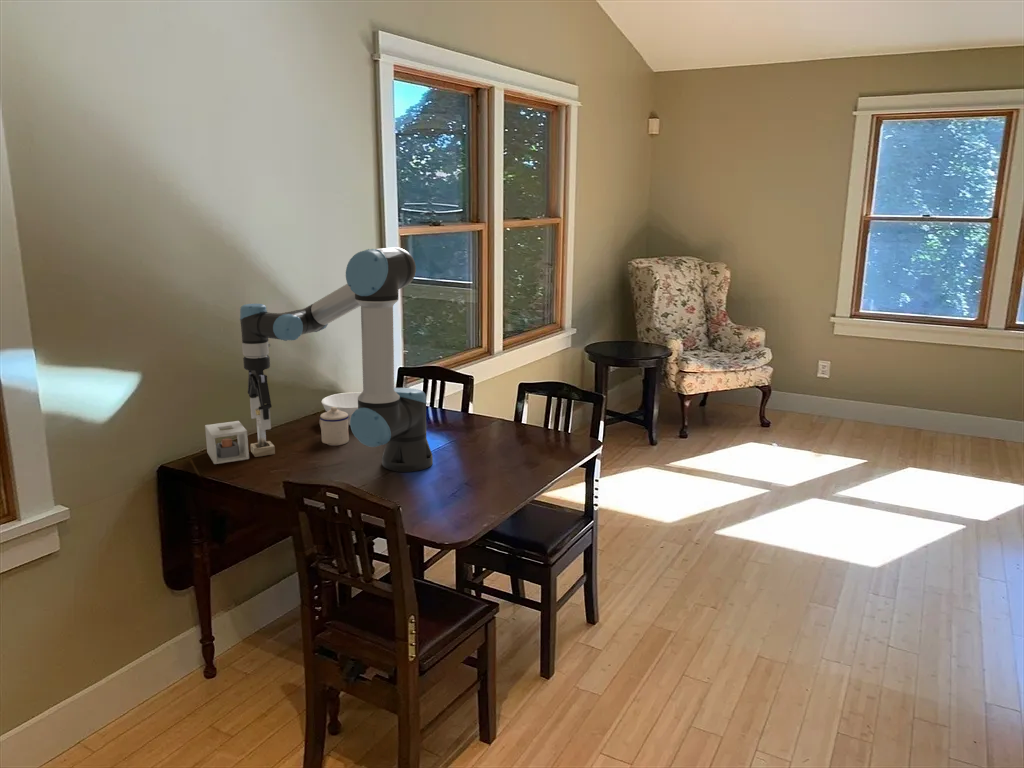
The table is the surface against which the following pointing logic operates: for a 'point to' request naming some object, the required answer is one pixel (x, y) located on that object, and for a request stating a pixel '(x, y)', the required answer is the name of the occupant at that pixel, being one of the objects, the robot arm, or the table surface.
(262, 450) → the stylus stand
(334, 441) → the teacup with lid
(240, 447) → the white hollow frame cube
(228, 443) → the button
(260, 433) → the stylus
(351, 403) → the bowl
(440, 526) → the table surface
